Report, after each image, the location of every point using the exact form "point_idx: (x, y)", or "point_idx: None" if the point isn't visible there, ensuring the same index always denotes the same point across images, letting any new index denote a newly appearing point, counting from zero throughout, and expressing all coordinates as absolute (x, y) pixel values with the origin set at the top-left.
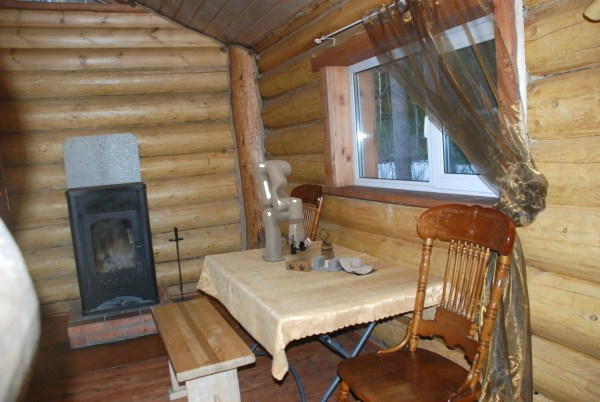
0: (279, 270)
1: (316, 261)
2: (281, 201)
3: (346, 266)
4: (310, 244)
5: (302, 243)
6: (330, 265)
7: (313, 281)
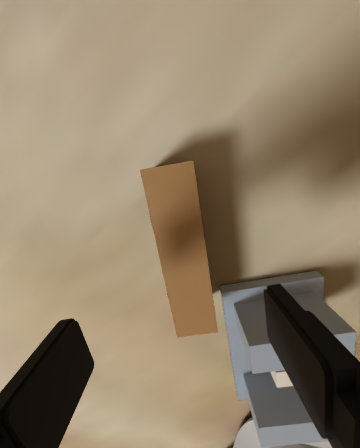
0: (122, 137)
1: (245, 347)
2: None
3: None
4: None
5: (343, 436)
6: None
7: None
